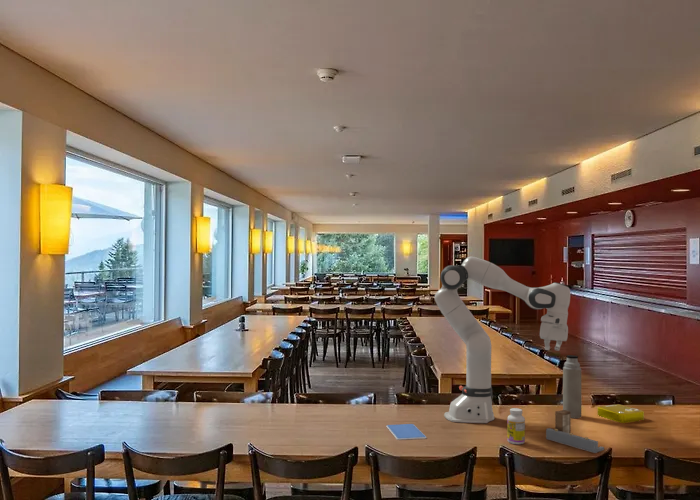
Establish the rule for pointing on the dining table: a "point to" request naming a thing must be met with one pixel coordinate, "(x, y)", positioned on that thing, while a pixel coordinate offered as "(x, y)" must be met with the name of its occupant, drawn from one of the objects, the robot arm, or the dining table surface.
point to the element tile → (620, 413)
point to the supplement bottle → (516, 427)
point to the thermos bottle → (572, 386)
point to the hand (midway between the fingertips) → (552, 350)
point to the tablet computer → (406, 432)
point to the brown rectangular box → (563, 421)
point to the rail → (573, 440)
